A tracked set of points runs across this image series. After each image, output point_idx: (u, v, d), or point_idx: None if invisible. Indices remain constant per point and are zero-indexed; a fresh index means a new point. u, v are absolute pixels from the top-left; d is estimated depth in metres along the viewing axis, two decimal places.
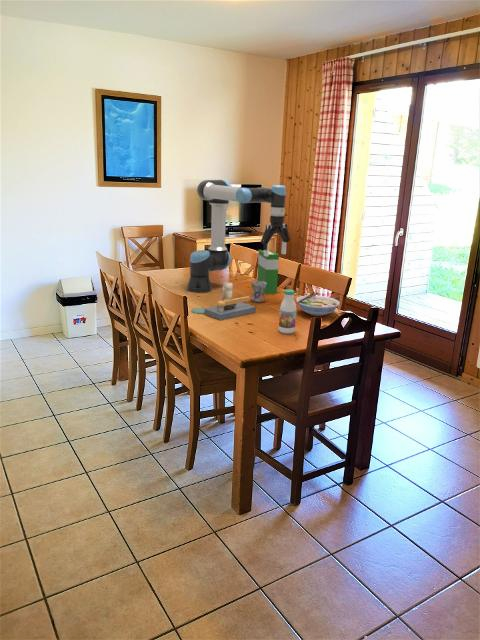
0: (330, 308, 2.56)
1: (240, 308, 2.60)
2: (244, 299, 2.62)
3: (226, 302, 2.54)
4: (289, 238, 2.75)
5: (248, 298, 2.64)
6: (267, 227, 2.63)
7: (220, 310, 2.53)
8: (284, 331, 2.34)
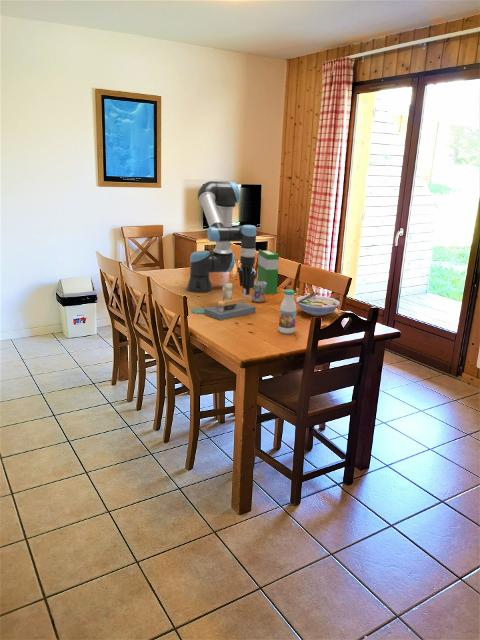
0: (330, 308, 2.56)
1: (240, 308, 2.60)
2: (245, 300, 2.62)
3: (226, 302, 2.54)
4: (249, 286, 2.59)
5: (250, 299, 2.63)
6: None
7: (220, 310, 2.53)
8: (284, 331, 2.34)
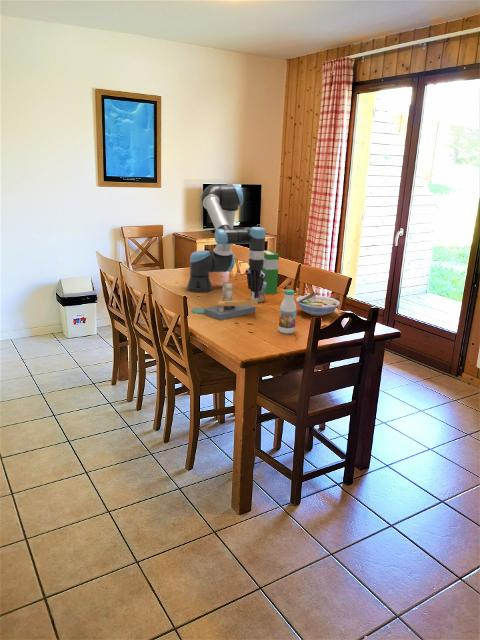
0: (330, 308, 2.56)
1: (240, 308, 2.60)
2: (250, 302, 2.57)
3: (227, 303, 2.53)
4: (257, 289, 2.54)
5: (255, 302, 2.57)
6: None
7: (220, 310, 2.53)
8: (284, 331, 2.34)
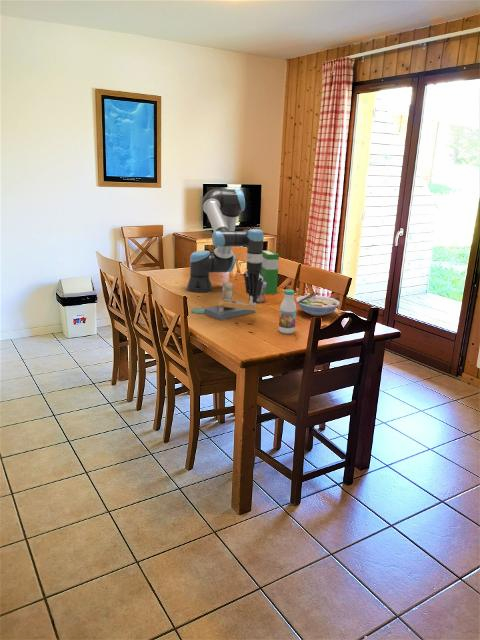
0: (330, 308, 2.56)
1: None
2: (249, 307, 2.48)
3: (226, 304, 2.52)
4: (256, 293, 2.45)
5: (255, 308, 2.47)
6: None
7: (220, 310, 2.53)
8: (284, 331, 2.34)
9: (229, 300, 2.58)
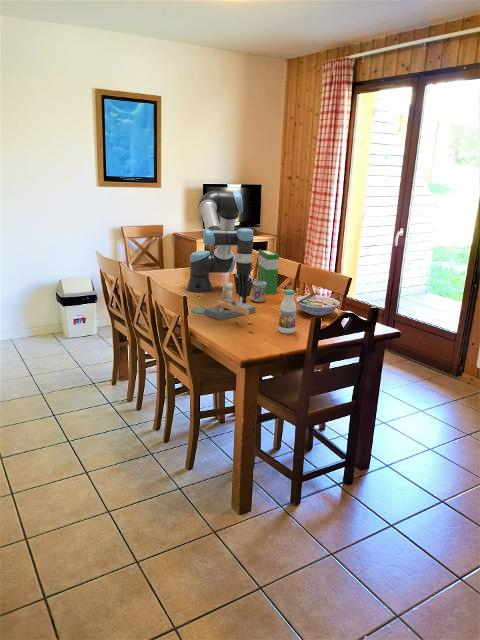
0: (330, 308, 2.56)
1: None
2: (241, 310, 2.42)
3: (224, 304, 2.51)
4: (245, 294, 2.40)
5: (245, 311, 2.40)
6: None
7: (220, 310, 2.53)
8: (284, 331, 2.34)
9: (229, 300, 2.58)
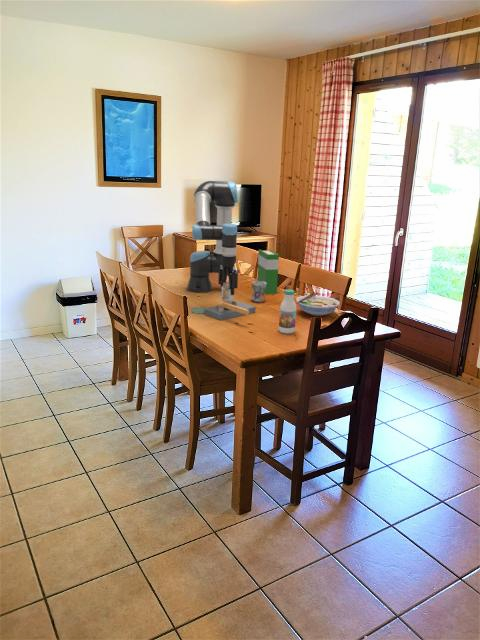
0: (330, 308, 2.56)
1: None
2: (241, 310, 2.42)
3: (224, 304, 2.51)
4: (233, 286, 2.53)
5: (245, 311, 2.40)
6: None
7: (220, 310, 2.53)
8: (284, 331, 2.34)
9: None
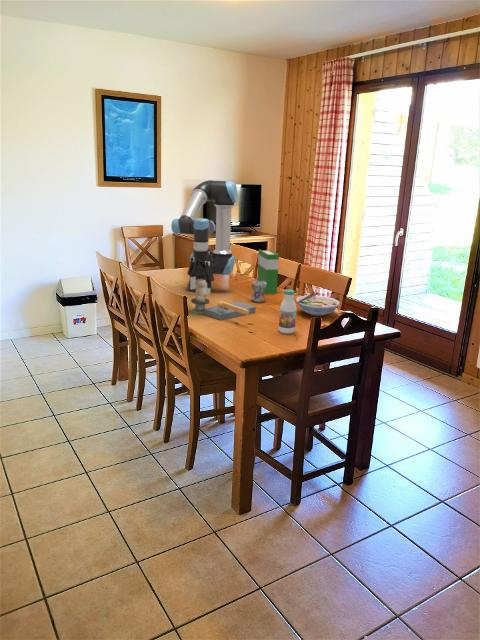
0: (330, 308, 2.56)
1: None
2: (241, 310, 2.42)
3: (224, 304, 2.51)
4: (209, 279, 2.50)
5: (245, 311, 2.40)
6: None
7: (220, 310, 2.53)
8: (284, 331, 2.34)
9: (202, 297, 2.58)
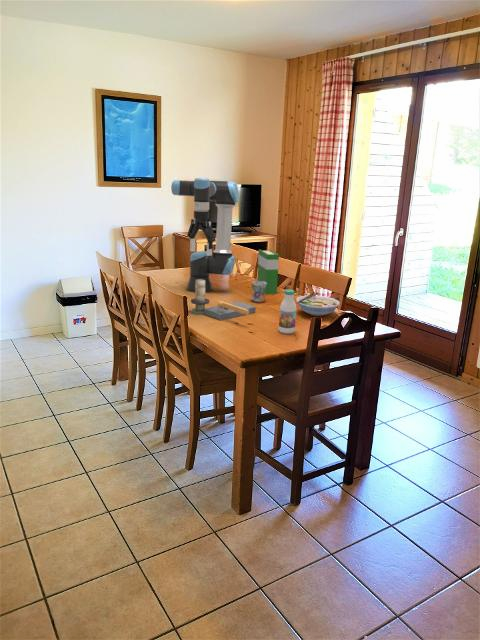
0: (330, 308, 2.56)
1: None
2: (241, 310, 2.42)
3: (224, 304, 2.51)
4: (211, 239, 2.44)
5: (245, 311, 2.40)
6: None
7: (220, 310, 2.53)
8: (284, 331, 2.34)
9: (202, 297, 2.58)
